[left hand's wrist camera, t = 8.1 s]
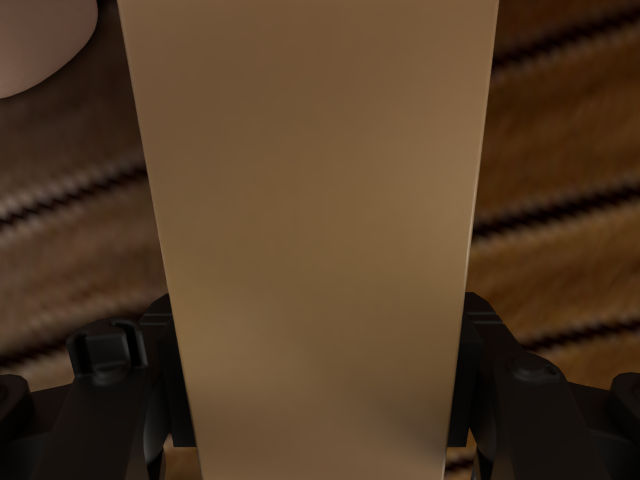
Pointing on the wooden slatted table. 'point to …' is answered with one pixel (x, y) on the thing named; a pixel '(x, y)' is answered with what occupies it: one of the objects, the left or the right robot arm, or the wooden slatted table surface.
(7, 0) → the anatomical model
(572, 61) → the wooden slatted table surface
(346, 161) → the bar
